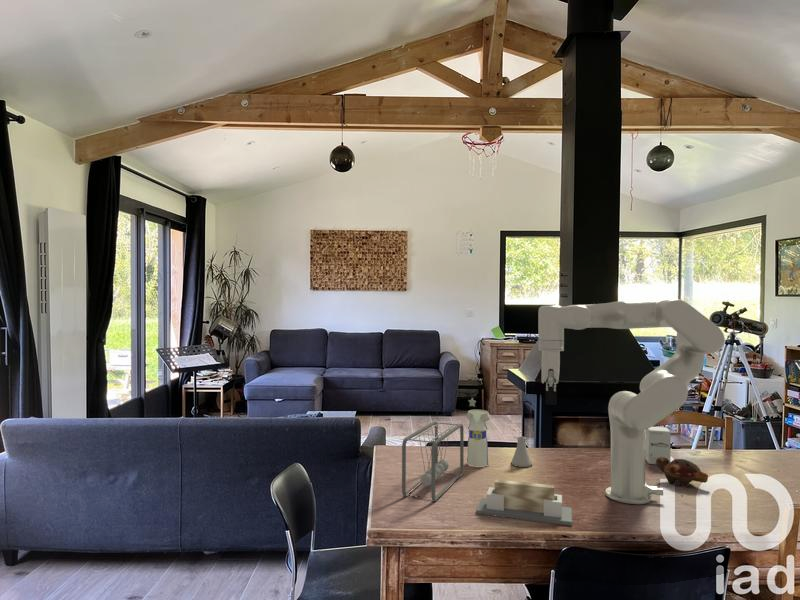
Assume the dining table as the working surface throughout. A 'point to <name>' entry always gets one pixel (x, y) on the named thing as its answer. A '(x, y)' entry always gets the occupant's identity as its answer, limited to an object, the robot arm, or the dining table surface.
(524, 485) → the slat
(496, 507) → the frame
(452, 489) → the dining table surface
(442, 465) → the newton's cradle
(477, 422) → the water bottle
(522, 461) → the flask
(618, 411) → the robot arm
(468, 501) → the dining table surface
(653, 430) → the supplement box
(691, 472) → the decorative turtle
